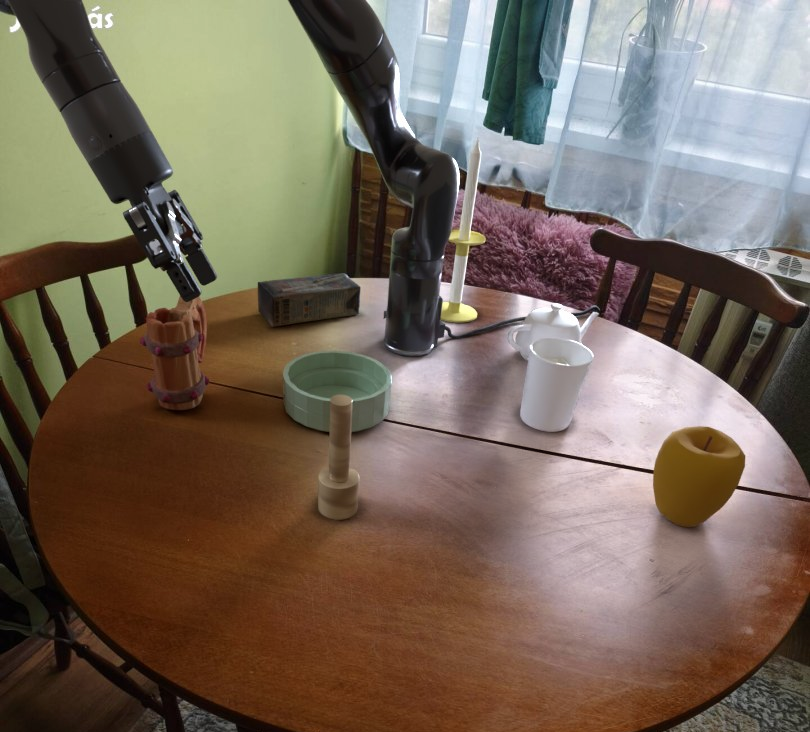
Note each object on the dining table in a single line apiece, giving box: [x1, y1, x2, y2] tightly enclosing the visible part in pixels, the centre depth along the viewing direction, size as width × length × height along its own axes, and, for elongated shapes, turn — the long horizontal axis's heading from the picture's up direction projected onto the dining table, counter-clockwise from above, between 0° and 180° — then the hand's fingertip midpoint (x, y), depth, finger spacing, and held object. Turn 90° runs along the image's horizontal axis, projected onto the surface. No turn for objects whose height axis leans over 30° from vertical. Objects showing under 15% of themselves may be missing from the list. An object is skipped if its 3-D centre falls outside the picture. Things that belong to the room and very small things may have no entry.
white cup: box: [519, 337, 594, 433], centre depth 110 cm, size 10×10×12 cm
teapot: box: [506, 302, 600, 362], centre depth 129 cm, size 20×12×10 cm, turn 115°
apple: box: [652, 425, 746, 528], centre depth 93 cm, size 11×11×13 cm
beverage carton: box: [257, 272, 362, 327], centre depth 135 cm, size 8×19×7 cm, turn 121°
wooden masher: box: [317, 395, 360, 521], centre depth 86 cm, size 5×5×16 cm
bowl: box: [282, 349, 393, 433], centre depth 109 cm, size 17×17×6 cm
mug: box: [139, 295, 210, 411], centre depth 105 cm, size 15×8×15 cm, turn 168°
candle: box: [440, 138, 487, 324], centre depth 134 cm, size 10×10×32 cm
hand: (202, 290), depth 81 cm, fingers open, 8 cm apart
